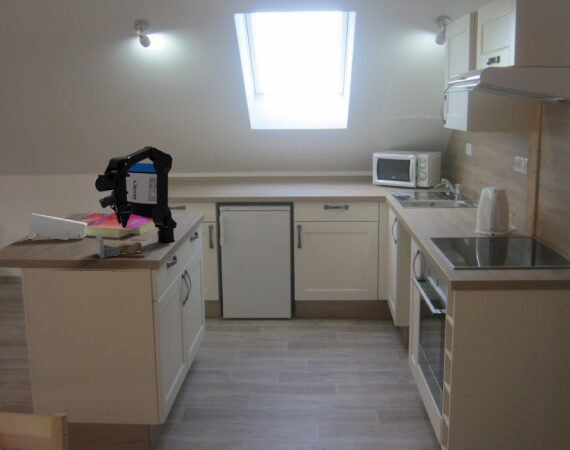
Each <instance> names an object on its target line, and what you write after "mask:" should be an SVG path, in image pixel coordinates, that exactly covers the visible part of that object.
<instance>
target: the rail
mask: <svg viewBox="0 0 570 450" xmlns="http://www.w3.org/2000/svg"><path fill="white" fill-rule="evenodd" d="M113 244H114V245H109V244H105V245H106V248H115V247H119V248H120V254H122V253H130V252H137V251H142V243H141V242H140V241H134V242H133V241H132V242H125V243H113ZM142 252H143V251H142Z"/></svg>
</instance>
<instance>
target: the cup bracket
mask: <svg viewBox="0 0 570 450" xmlns="http://www.w3.org/2000/svg"><path fill="white" fill-rule="evenodd" d="M94 237H95V245H96V246H95V248H96V255H97V256H98V255H99V256H98V257H99V258H100V260H101V259H105V258H113V256H114V257H116V256H115V255H120V248H119V247H115V248H106V245H107V244H104V239H103V238H104V237H101V236H100V235H99V234H97V235H95V236H94ZM114 244H115V243H109V244H108V245H114ZM120 256H121V255H120Z"/></svg>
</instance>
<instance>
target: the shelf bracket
mask: <svg viewBox="0 0 570 450" xmlns="http://www.w3.org/2000/svg"><path fill="white" fill-rule="evenodd" d="M86 232H87V223H85V222H80V220H79V221H77V220H73V219H67V218H61V217H57V216H49V215H44V214H39V213H31V214H30V219H29V223H28V237H27V238H28V239H31V240H32V239H34V238H35V237H36V236H37V235H36V234H39V236H43V237H44V236H45V237H48V238H53V239H58V240H63V241H68V240H70V239H72V238H74V237H78V238H81V239H83V238H85V237H86V236H87V235H86ZM28 239H27V240H28Z"/></svg>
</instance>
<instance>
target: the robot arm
mask: <svg viewBox="0 0 570 450" xmlns="http://www.w3.org/2000/svg"><path fill="white" fill-rule="evenodd" d="M147 159H148V160H150V161H151V162H152V164H153V167H154V169H155V171H156V173H157V206H156V208H155V209H154V210H152V218H151V219H152V220H153V222H154V224H155V229H157V237H156V238H157V241H158V242H159V241H160V242H159V243H160V244H164V243H165V244H166V243H174V242H176V239H175V235H174V234H175V232H174V230H175V229H177V224H178V223H177V222H176V221H175V220H174V218H173V216H172V211H171V208H170V207H169V173H170V172H171V170H172V166H173V157H172V155H171V154H170V153H166V152H164V151H162V150H160V149H158V148H156V147H155V146H149V145H147V146H144V147H143V148H141V149H138V150H137V151H134V152H132V153H130V154H127V155H124V156H123V155H122V156H117V157H115V156H114V157H111V158H110V159H109V160H108V161H109V162H108V164H107V166H106V169H105V171H104V173H103V174H98V175H97V178H96V179H95V182H94V187H95V190H97V192H99V193H103V192H108V191H111V192H110V194H109V195H107V196H104V197H103V198H100V199H98V203H99V204H100V207H101V208H102V209H106V208H107V207H110V209H112V211H113V212H114V213H115V214H116V217H117V221H118V224H121V223H122V227H123V228H126V225H127V223H128V220H129V218H130V216H131V213H132V212H133V207H132V206H131V205H130V204H129V201H128V189H127V177H130V175H129V174H128V173H127V172H126V171H128V170H129V169H130V168H131V166H132V165H134V164H136V163H141V162H142V161H144V160H147Z"/></svg>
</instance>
